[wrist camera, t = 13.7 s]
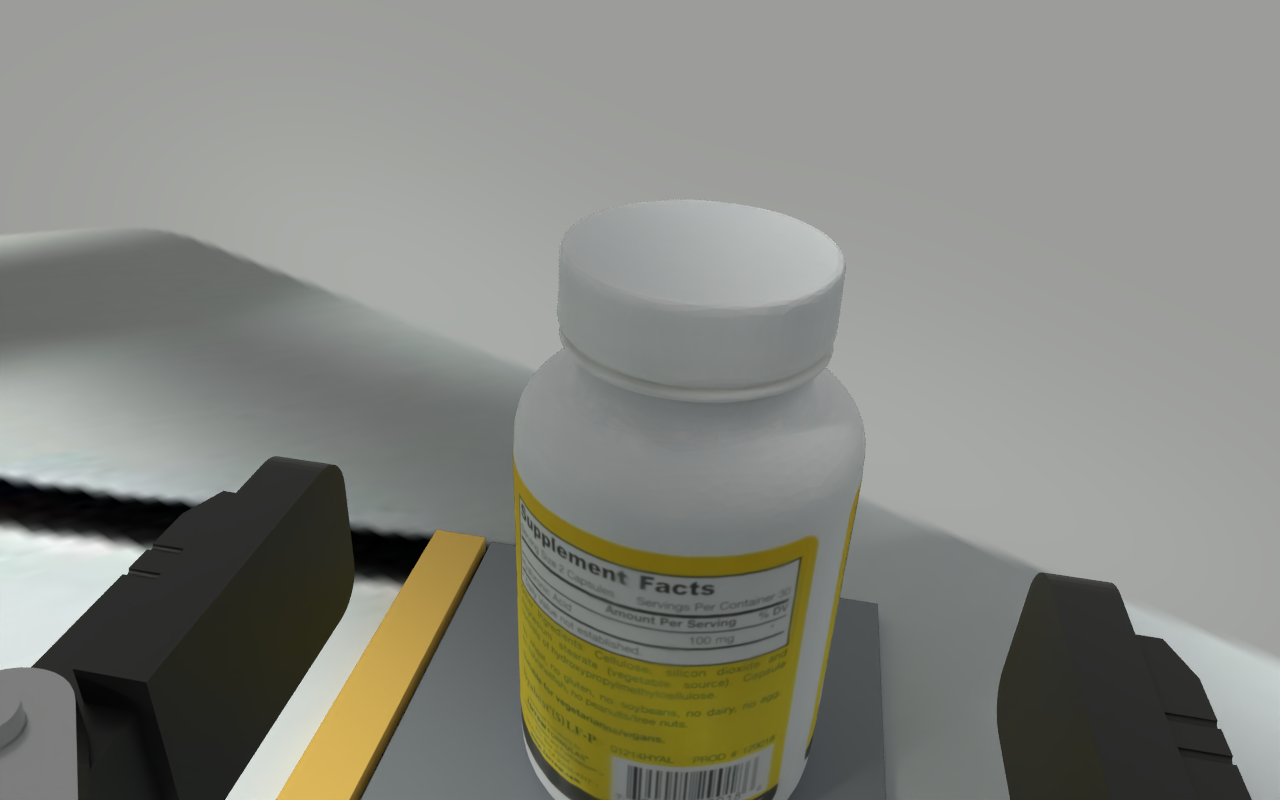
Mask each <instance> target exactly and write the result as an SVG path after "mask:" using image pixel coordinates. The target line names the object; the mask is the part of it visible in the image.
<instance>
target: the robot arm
mask: <svg viewBox="0 0 1280 800" xmlns="http://www.w3.org/2000/svg"><path fill="white" fill-rule="evenodd" d="M354 573H355V567H354V557H353V549H352V540H351V532H350V524H349V516H348V508H347V499H346V491H345V483H344V478H343V475H342V472H341V470H340V469H339V468H338V467H337V466H336V465H331V464H325V463H318V462H311V461H304V460H298V459H291V458H284V457H276V456H275V457H272V458H270V459H268V460H267V461H266V462H265V463H264V464H263V465H262V466H261V467H260V468H259V469H258V470H257V471H256V472H255V473H254V474H253V475H252V476H251V478H250V479H249V480H248V481H247V482H246V483H245V484H244V485H243V486H242V487H241V488H240V489H239V490H238V491H237V493H233V492H226V491H223V492H221V493H219V494H217V495H215V496H214V497H212V498H210V499H208V500H206V501H205V502H203V503H201V504H199V505H197V506H196V507H194V508H192V509H190V510H188V511H187V512H185V513H183V514H182V515H181V516H180V517H179V518H178V519H177V520H176V521H175V522H174V523H173V524H172V525H171V526H170V527H169V528H168V529H167V530H166V531H165V532H164V533H163V534H162V535H161V536H160V537H159V538H158V539H157V540H156V541H155V542H154V543H153V548H152V550H146V551H145V552H144V553H143V554H142V555H141V556H140V557H139V558H138V559H137V560H136V561H135V562H134V563H133V564H132V565H131V566H130V567H129V572H128V574H127V575H124V574H123V575H122V576H121V577H120V578H119V579H118V580H117V581H116V582H115V583H114V584H113V585H112V586H111V587H110V588H109V589H108V590H107V591H106V592H105V593H104V594H103V595H102V596H101V597H100V598H99V599H98V600H97V601H96V602H95V603H94V604H93V605H92V606H91V607H90V608H89V609H88V610H87V611H86V612H85V613H84V614H83V615H82V616H81V617H80V618H79V619H78V620H77V621H76V622H75V623H74V624H73V625H72V626H71V627H70V628H69V629H68V631H67V632H66V633H65V634H64V635H63V636H62V637H61V638H60V639H59V640H58V641H57V642H56V643H55V644H54V645H53V646H52V647H51V648H50V649H49V650H48V651H47V652H46V653H45V654H44V655H43V656H42V657H41V658H40V659H39V660H38V661H37V662H36V663H35V664H34V665H33V666H32V667H31V668H12V669H4V670H0V800H225V799H226V797H227V796H228V794H229V793H230V791H231V789H232V788H233V786H234V785H235V783H236V782H237V780H238V779H239V777H240V775H241V774H242V772H243V771H244V769H245V768H246V766H247V765H248V763H249V762H250V760H251V758H252V757H253V755H254V754H255V752H256V751H257V749H258V748H259V746H260V744H261V743H262V741H263V740H264V738H265V737H266V735H267V734H268V732H269V730H270V729H271V727H272V726H273V724H274V723H275V721H276V720H277V718H278V717H279V715H280V713H281V712H282V710H283V709H284V707H285V706H286V704H287V703H288V701H289V699H290V698H291V696H292V695H293V693H294V692H295V690H296V689H297V687H298V685H299V684H300V682H301V681H302V679H303V678H304V676H305V675H306V673H307V672H308V670H309V668H310V667H311V665H312V664H313V662H314V661H315V659H316V658H317V656H318V654H319V653H320V651H321V650H322V648H323V647H324V645H325V644H326V642H327V640H328V639H329V637H330V636H331V634H332V633H333V631H334V630H335V628H336V626H337V625H338V623H339V622H340V620H341V619H342V617H343V615H344V613H345V611H346V609H347V606H348V603H349V600H350V597H351V593H352V589H353V583H354ZM997 725H998V733H999V739H1000V745H1001V750H1002V756H1003V762H1004V767H1005V773H1006V778H1007V784H1008V789H1009V795H1010V800H1251V797H1250V795H1249V793H1248V790H1247V788H1246V786H1245V783H1244V781H1243V779H1242V776H1241V774H1240V772H1239V769H1238V767H1237V765H1233V764H1232V757H1233V756H1232V753H1231V751H1230V749H1229V746H1228V744H1227V742H1226V739H1225V737H1224V735H1223V732H1222V730H1221V729H1217V718H1216V716H1215V714H1214V712H1213V709H1212V707H1211V705H1210V702H1209V700H1208V698H1207V695H1206V693H1205V691H1204V688H1203V686H1202V684H1201V681H1200V679H1199V678H1198V677H1197V675H1196V674H1195V673H1194V672H1193V671H1192V670H1191V669H1190V668H1189V667H1188V666H1187V665H1186V664H1185V662H1184V661H1183V660H1182V659H1181V658H1180V657H1179V656H1178V655H1177V654H1176V653H1175V652H1174V651H1173V650H1172V648H1171V647H1170V646H1169V645H1168V644H1167V643H1166V642H1165V641H1164V640H1163V639H1161V638H1154V637H1148V636H1141V635H1135V632H1134V630H1133V627H1132V624H1131V622H1130V619H1129V616H1128V614H1127V611H1126V608H1125V606H1124V603H1123V600H1122V598H1121V595H1120V593H1119V591H1118V589H1117V587H1116V586H1115V585H1114V584H1113V583H1109V582H1102V581H1096V580H1089V579H1083V578H1076V577H1069V576H1063V575H1056V574H1049V573H1042V572H1041V573H1038V574H1037V575H1036V576H1035V578H1034V579H1033V581H1032V583H1031V586H1030V589H1029V592H1028V595H1027V598H1026V601H1025V604H1024V607H1023V610H1022V613H1021V616H1020V619H1019V622H1018V625H1017V628H1016V631H1015V634H1014V637H1013V640H1012V643H1011V646H1010V649H1009V653H1008V656H1007V659H1006V662H1005V665H1004V668H1003V671H1002V674H1001V679H1000V684H999V690H998V699H997Z"/></svg>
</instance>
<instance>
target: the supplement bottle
mask: <svg viewBox="0 0 1280 800" xmlns="http://www.w3.org/2000/svg"><path fill="white" fill-rule="evenodd" d="M845 271H846V265H845V260H844V256H843V254H842V252H841V250H840V248H839V247H838V246H837V245H836V244H835V242H833V241H832V240H831V239H830V238H829V237H828V236H826V235H825V234H824V233H823V232H821V231H819V230H818V229H816V228H814V227H812V226H810V225H808V224H806V223H804V222H802V221H800V220H797V219H795V218H792V217H790V216H787V215H784V214H781V213H777V212H774V211H769V210H765V209H761V208H757V207H751V206H746V205H739V204H733V203H724V202H715V201H703V200H663V201H653V202H639V203H633V204H627V205H622V206H617V207H612V208H608V209H605V210H602V211H600V212H596V213H594V214H591V215H589V216H587V217H585V218H583V219H581V220H579V221H578V222H577V223H575V224H574V225H573V226H571V228H570V229H569V230H568V231H567V232H566V233H565V235H564V237H563V239H562V241H561V245H560V250H559V292H558V305H557V315H558V321H559V324H560V328H559V335H560V339H561V342H562V344H563V346H564V348H563V349H561V350H560V351H559V352H557V353H556V354H555V355H553V356H552V357H551V358H550V359H548V360H547V361H546V362H545V363H544V364H543V365H542V366H541V367H540V368H539V369H538V370H537V372H536V373H535V374H534V375H533V376H532V378H531V379H530V381H529V382H528V384H527V386H526V387H525V389H524V391H523V393H522V395H521V398H520V400H519V403H518V407H517V411H516V415H515V422H514V447H513V472H514V500H515V530H516V564H517V602H518V634H519V667H520V697H521V715H522V728H523V737H524V742H525V746H526V750H527V753H528V756H529V759H530V761H531V764H532V766H533V768H534V770H535V773H536V774H537V776H538V778H539V779H540V781H541V782H542V784H543V785H544V787H545V788H546V790H547V791H548V792H549V794H550V795H551V796H552V797H553V798H554V799H555V800H787V799H788V798H789V796H790V795H791V794H792V792H793V791H794V789H795V788H796V786H797V784H798V782H799V780H800V778H801V776H802V773H803V771H804V768H805V766H806V763H807V760H808V755H809V752H810V748H811V744H812V739H813V734H814V729H815V724H816V720H817V714H818V709H819V704H820V699H821V694H822V688H823V682H824V677H825V672H826V667H827V661H828V656H829V650H830V645H831V639H832V635H833V629H834V624H835V619H836V613H837V608H838V603H839V598H840V592H841V587H842V581H843V575H844V570H845V565H846V560H847V555H848V550H849V544H850V539H851V534H852V529H853V524H854V519H855V513H856V508H857V503H858V498H859V492H860V487H861V481H862V474H863V465H864V458H865V433H864V427H863V422H862V419H861V416H860V413H859V410H858V408H857V406H856V404H855V402H854V400H853V398H852V397H851V395H850V394H849V392H848V391H847V389H846V388H845V387H844V385H843V384H842V383H841V382H840V381H839V380H838V379H837V378H836V377H835V376H834V375H833V374H832V373H831V372H830V371H829V370H828V369H827V368H826V366H827V365H828V363H829V361H830V359H831V357H832V353H833V343H834V341H835V338H836V334H837V328H838V322H839V315H840V308H841V301H842V294H843V286H844V279H845Z"/></svg>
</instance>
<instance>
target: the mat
mask: <svg viewBox="0 0 1280 800" xmlns="http://www.w3.org/2000/svg"><path fill="white" fill-rule="evenodd" d="M485 551H486V544H485V537H479V536H473V535H467V534H461V533H454V532H448V531H442V530H436V532H435V533H434V535H433V537H432V538H431V540H430V542H429V543H428V545H427V547H426V548H425V550H424V552H423V553H422V555H421V557H420V559H419V560H418V562H417V564H416V565H415V567H414V569H413V570H412V572H411V574H410V575H409V577H408V579H407V580H406V582H405V584H404V585H403V587H402V589H401V590H400V592H399V594H398V595H397V597H396V599H395V601H394V602H393V604H392V606H391V607H390V609H389V611H388V612H387V614H386V616H385V617H384V619H383V621H382V622H381V624H380V626H379V627H378V629H377V631H376V632H375V634H374V636H373V638H372V639H371V641H370V643H369V644H368V646H367V648H366V649H365V651H364V653H363V654H362V656H361V658H360V659H359V661H358V663H357V664H356V666H355V668H354V669H353V671H352V673H351V674H350V676H349V678H348V680H347V681H346V683H345V685H344V686H343V688H342V690H341V691H340V693H339V695H338V696H337V698H336V700H335V701H334V703H333V705H332V706H331V708H330V710H329V711H328V713H327V715H326V716H325V718H324V720H323V722H322V723H321V725H320V727H319V728H318V730H317V732H316V733H315V735H314V737H313V738H312V740H311V742H310V743H309V745H308V747H307V748H306V750H305V752H304V753H303V755H302V757H301V758H300V760H299V762H298V764H297V765H296V767H295V769H294V770H293V772H292V774H291V775H290V777H289V779H288V780H287V782H286V784H285V785H284V787H283V789H282V790H281V792H280V794H279V795H278V797H277V799H276V800H359V799H360V797H361V795H362V793H363V791H364V789H365V787H366V785H367V783H368V781H369V779H370V777H371V775H372V774H373V772H374V770H375V768H376V766H377V764H378V762H379V760H380V758H381V756H382V754H383V752H384V750H385V748H386V746H387V744H388V742H389V740H390V738H391V736H392V734H393V732H394V730H395V728H396V726H397V724H398V722H399V720H400V718H401V716H402V714H403V713H404V711H405V709H406V707H407V705H408V703H409V701H410V699H411V697H412V695H413V693H414V691H415V689H416V687H417V685H418V683H419V681H420V679H421V677H422V675H423V673H424V671H425V669H426V667H427V665H428V663H429V661H430V659H431V657H432V655H433V653H434V652H435V650H436V648H437V646H438V644H439V642H440V640H441V638H442V636H443V634H444V632H445V630H446V628H447V626H448V624H449V622H450V620H451V618H452V616H453V614H454V612H455V610H456V608H457V606H458V604H459V602H460V600H461V598H462V596H463V594H464V592H465V591H466V589H467V587H468V585H469V583H470V581H471V579H472V577H473V575H474V573H475V571H476V569H477V567H478V565H479V563H480V561H481V559H482V557H483V555H484V553H485ZM361 800H555V799H554V798H553V797H552V796H551V795H550V794H549V792H548V791H547V790H546V788H545V787H544V785H543V784H542V782H541V781H540V779H539V778H538V776H537V774H536V773H535V770H534V768H533V766H532V764H531V761H530V759H529V756H528V753H527V750H526V746H525V742H524V737H523V728H522V715H521V697H520V667H519V634H518V602H517V564H516V546H515V545H508V544H502V543H496V542H491V544H490V546H489V548H488V550H487V552H486V554H485V556H484V558H483V560H482V562H481V563H480V565H479V567H478V569H477V571H476V573H475V575H474V577H473V579H472V581H471V583H470V585H469V587H468V589H467V591H466V593H465V595H464V597H463V599H462V601H461V603H460V605H459V607H458V609H457V611H456V613H455V615H454V617H453V619H452V621H451V623H450V625H449V627H448V629H447V631H446V633H445V635H444V637H443V639H442V640H441V642H440V644H439V646H438V648H437V650H436V652H435V654H434V656H433V658H432V660H431V662H430V664H429V666H428V668H427V670H426V672H425V674H424V676H423V678H422V680H421V682H420V684H419V686H418V688H417V690H416V692H415V694H414V696H413V698H412V700H411V702H410V704H409V706H408V708H407V710H406V712H405V714H404V716H403V717H402V719H401V721H400V723H399V725H398V727H397V729H396V731H395V733H394V735H393V737H392V739H391V741H390V743H389V745H388V747H387V749H386V751H385V753H384V755H383V757H382V759H381V761H380V763H379V765H378V767H377V769H376V771H375V773H374V775H373V777H372V779H371V781H370V783H369V785H368V787H367V789H366V791H365V793H364V794H363V796H362V798H361ZM787 800H886V793H885V769H884V745H883V721H882V697H881V673H880V649H879V625H878V604H875V603H869V602H862V601H856V600H850V599H844V598H839V603H838V608H837V613H836V619H835V624H834V629H833V635H832V639H831V645H830V650H829V656H828V661H827V667H826V672H825V677H824V682H823V688H822V694H821V699H820V704H819V709H818V714H817V720H816V724H815V729H814V734H813V739H812V744H811V748H810V752H809V755H808V760H807V763H806V766H805V768H804V771H803V773H802V776H801V778H800V780H799V782H798V784H797V786H796V788H795V789H794V791H793V792H792V794H791V795H790V796H789V798H788V799H787Z"/></svg>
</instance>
